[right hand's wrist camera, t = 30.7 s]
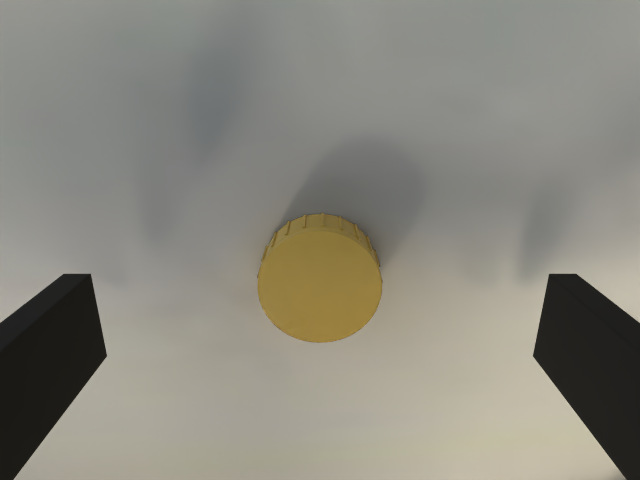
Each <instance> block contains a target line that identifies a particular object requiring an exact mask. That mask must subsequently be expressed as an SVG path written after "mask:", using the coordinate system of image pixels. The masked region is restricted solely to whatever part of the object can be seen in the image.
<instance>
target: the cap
mask: <svg viewBox="0 0 640 480" xmlns="http://www.w3.org/2000/svg"><path fill="white" fill-rule="evenodd" d="M261 262H262V263H261V267H260V270H259V273H258V276H257V278H258V296H259V300H260V303H261V306H262V308H263V310H264V312H265V314H266V315H267V317H268V318H269V319H270V320H271V322H272V323H273V324H274V325H275V326H276V327H278V328H279V329H280V330H281V331H283V332H285V333H286V334H288V335H290V336H292V337H294V338H297V339H300V340H303V341H308V342H318V343H319V342H331V341H336V340H340V339H343V338H345V337H348V336H350V335H352V334H354V333H355V332H357V331H358V330H360V329H361V328H362V327H363V326H364V325H365V324H367V322H368V321H369V320H370V319H371V318H372V316H373V315H374V313H375V311H376V309H377V307H378V305H379V302H380V299H381V293H382V278H381V274H380V271H379V267H380V264H379V261H378V258H377V254H376V251H375V250H373V248H372V246H371V244H370V240H369V237H368V236H365V235H364V233H363V232H362V231H361V230H360V229H359V228H358V227H357V225H356V224H352V223H351V222H349V221H347V220H345V219H343V218H341V216H339V217H337V216H333V215H327V214H324V213H321V214H313V215H307V216H306V214H305V215H304V216H303V217H300V218H297V219H295V220H293V221H291V222H290V221H288V222H287V224H286V225H285V226H283V227H282V228H281V229H280V230H279V231H278V232H275V233H274V236H273V238H272V240H271V241H270V243H269V245H268V246H267V245H266V248H265V251H264V254H263V257H262V260H261Z"/></svg>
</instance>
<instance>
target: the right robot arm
mask: <svg viewBox="0 0 640 480" xmlns="http://www.w3.org/2000/svg"><path fill="white" fill-rule="evenodd" d="M106 357H107V354H106V349H105V344H104V339H103V333H102V328H101V323H100V318H99V313H98V308H97V303H96V298H95V293H94V288H93V283H92V278H91V274H63V275H62V276H60V277H59V278H58V279H57V280H55V281H54V282H53V283H51V284H50V285H49V286H47V287H46V288H45V289H44V290H42V291H41V292H40V293H38V294H37V295H36V296H35V297H33V298H32V299H31V300H29V301H28V302H27V303H26V304H24V305H23V306H22V307H20V308H19V309H18V310H17V311H15V312H14V313H13V314H11V315H10V316H9V317H8V318H6V319H5V320H4V321H2V322H1V323H0V480H13V479H14V478H15V477H16V475H17V474H18V473H19V471H20V470H21V469H22V467H23V466H24V465H25V464H26V462H27V461H28V460H29V458H30V457H31V456H32V454H33V453H34V452H35V450H36V449H37V448H38V446H39V445H40V444H41V442H42V441H43V440H44V438H45V437H46V436H47V435H48V433H49V432H50V431H51V429H52V428H53V427H54V425H55V424H56V423H57V421H58V420H59V419H60V417H61V416H62V415H63V413H64V412H65V411H66V409H67V408H68V407H69V405H70V404H71V403H72V402H73V400H74V399H75V398H76V396H77V395H78V394H79V392H80V391H81V390H82V388H83V387H84V386H85V384H86V383H87V382H88V380H89V379H90V378H91V376H92V375H93V374H94V373H95V371H96V370H97V369H98V367H99V366H100V365H101V363H102V362H103V361H104V359H105V358H106ZM533 357H534V358H535V359H536V361H537V362H538V363H539V365H540V366H541V367H542V369H543V370H544V371H545V373H546V374H547V375H548V376H549V378H550V379H551V380H552V382H553V383H554V384H555V386H556V387H557V388H558V390H559V391H560V392H561V394H562V395H563V396H564V398H565V399H566V400H567V402H568V403H569V404H570V405H571V407H572V408H573V409H574V411H575V412H576V413H577V415H578V416H579V417H580V419H581V420H582V421H583V423H584V424H585V425H586V427H587V428H588V429H589V431H590V432H591V433H592V434H593V436H594V437H595V438H596V440H597V441H598V442H599V444H600V445H601V446H602V448H603V449H604V450H605V452H606V453H607V454H608V456H609V457H610V458H611V460H612V461H613V462H614V464H615V465H616V466H617V467H618V469H619V470H620V471H621V473H622V474H623V475H624V477H625V478H626V479H627V480H640V323H639V322H638V321H636V320H635V319H634V318H632V317H631V316H630V315H629V314H627V313H626V312H625V311H623V310H622V309H621V308H620V307H618V306H617V305H616V304H614V303H613V302H612V301H611V300H609V299H608V298H607V297H605V296H604V295H603V294H602V293H600V292H599V291H598V290H596V289H595V288H594V287H593V286H591V285H590V284H589V283H587V282H586V281H585V280H584V279H582V278H581V277H580V276H578V275H577V274H549V278H548V283H547V288H546V293H545V298H544V303H543V308H542V313H541V318H540V323H539V328H538V334H537V339H536V344H535V349H534V354H533Z"/></svg>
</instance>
